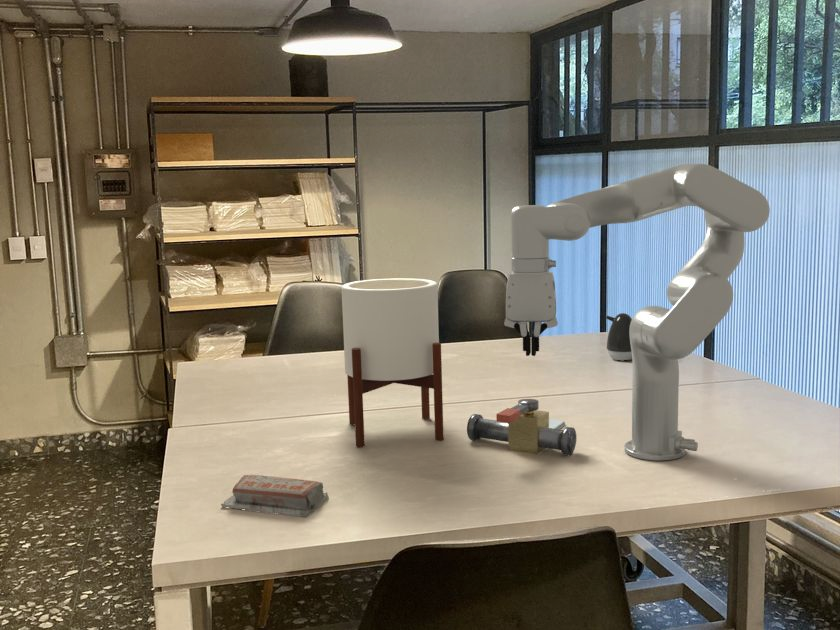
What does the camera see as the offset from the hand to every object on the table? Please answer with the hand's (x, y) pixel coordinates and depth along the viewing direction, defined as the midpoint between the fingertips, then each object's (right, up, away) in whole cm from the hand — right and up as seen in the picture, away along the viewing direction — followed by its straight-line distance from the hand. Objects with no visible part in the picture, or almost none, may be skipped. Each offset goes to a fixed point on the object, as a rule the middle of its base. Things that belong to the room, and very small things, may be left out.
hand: (531, 354), depth 176 cm
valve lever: (-2, -13, +7) cm, 15 cm away
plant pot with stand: (-29, -20, +28) cm, 45 cm away
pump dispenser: (+43, -6, +100) cm, 109 cm away
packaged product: (-50, -28, -15) cm, 60 cm away
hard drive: (+5, -20, +26) cm, 34 cm away
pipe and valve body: (-1, -21, +14) cm, 25 cm away
